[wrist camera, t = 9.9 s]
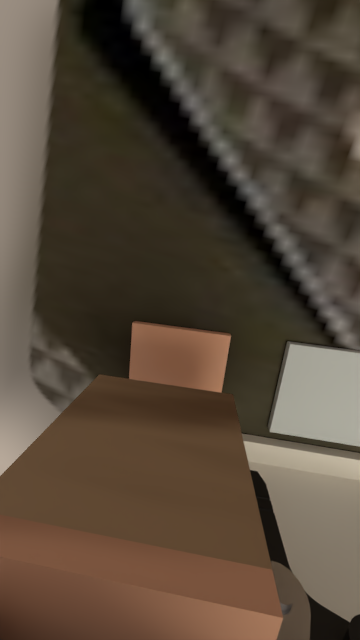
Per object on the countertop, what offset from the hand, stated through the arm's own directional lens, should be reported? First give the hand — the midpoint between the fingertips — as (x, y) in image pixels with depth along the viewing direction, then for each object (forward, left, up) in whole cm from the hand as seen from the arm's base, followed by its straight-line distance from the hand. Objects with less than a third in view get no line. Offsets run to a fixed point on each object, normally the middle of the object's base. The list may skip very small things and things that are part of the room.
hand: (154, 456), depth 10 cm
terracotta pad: (0, 0, -8) cm, 8 cm away
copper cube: (0, 0, -1) cm, 1 cm away
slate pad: (0, +11, -8) cm, 14 cm away
